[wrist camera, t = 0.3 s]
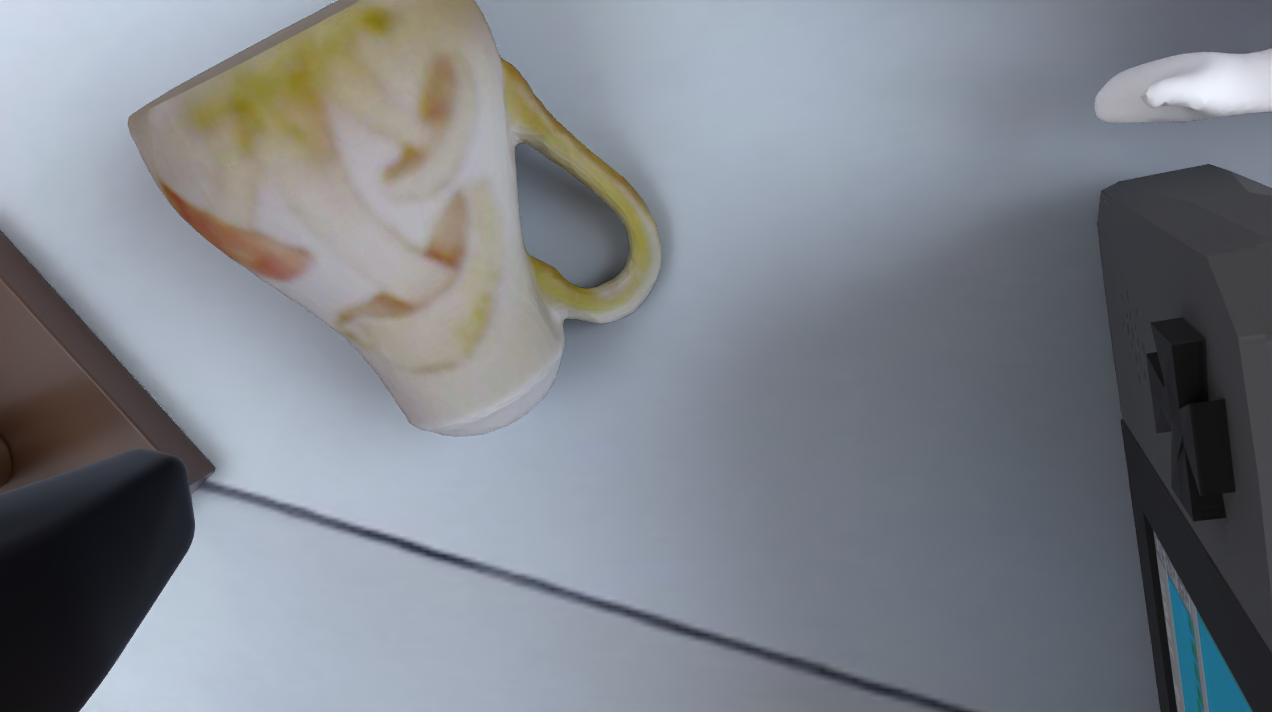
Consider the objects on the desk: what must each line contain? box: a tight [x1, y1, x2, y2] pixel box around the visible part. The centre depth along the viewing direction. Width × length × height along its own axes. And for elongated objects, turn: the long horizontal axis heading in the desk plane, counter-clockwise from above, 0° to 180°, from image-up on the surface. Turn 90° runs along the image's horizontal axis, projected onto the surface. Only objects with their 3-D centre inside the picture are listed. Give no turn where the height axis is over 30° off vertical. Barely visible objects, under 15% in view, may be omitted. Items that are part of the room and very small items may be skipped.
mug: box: [128, 0, 662, 436], centre depth 22 cm, size 8×10×10 cm
